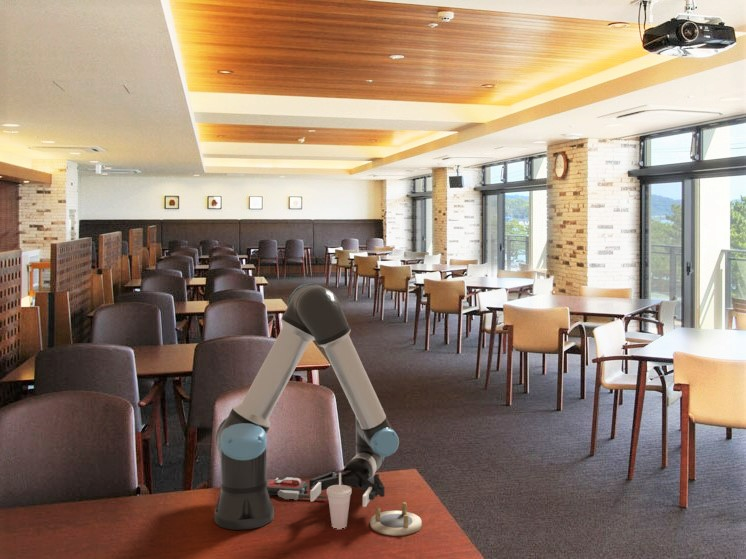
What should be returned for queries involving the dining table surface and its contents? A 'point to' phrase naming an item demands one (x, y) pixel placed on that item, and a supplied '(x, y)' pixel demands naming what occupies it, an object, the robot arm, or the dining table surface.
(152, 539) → the dining table surface
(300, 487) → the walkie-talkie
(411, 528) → the cup holder base
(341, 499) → the smoothie
